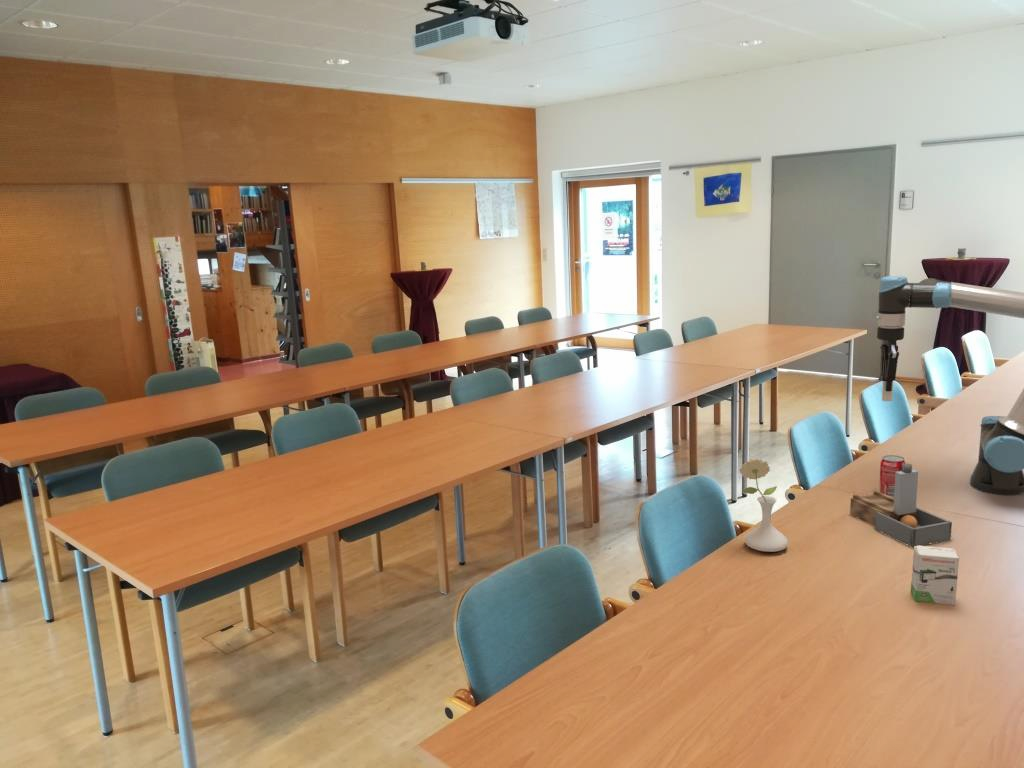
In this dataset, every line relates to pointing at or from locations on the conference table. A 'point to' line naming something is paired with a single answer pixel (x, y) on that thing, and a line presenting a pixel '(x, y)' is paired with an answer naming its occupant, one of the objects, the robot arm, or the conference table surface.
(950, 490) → the conference table surface
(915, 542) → the tray
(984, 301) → the robot arm
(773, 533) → the flower in vase
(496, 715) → the conference table surface
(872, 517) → the wooden box
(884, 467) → the soda can
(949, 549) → the ink box
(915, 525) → the ball
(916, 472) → the block with cylinder top
